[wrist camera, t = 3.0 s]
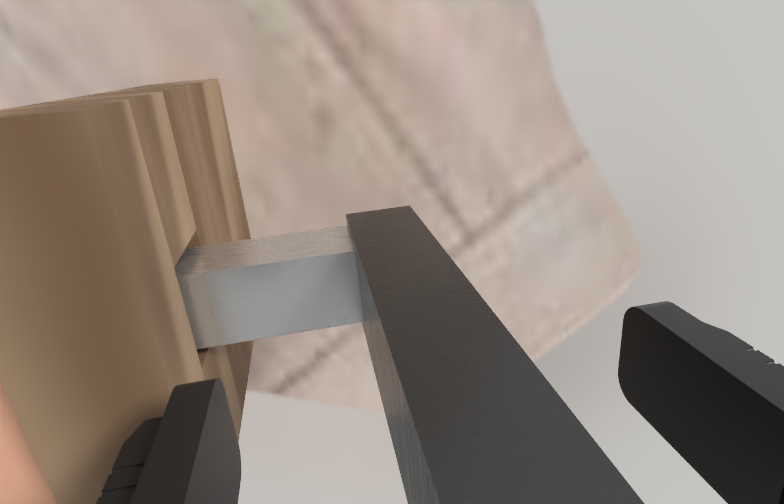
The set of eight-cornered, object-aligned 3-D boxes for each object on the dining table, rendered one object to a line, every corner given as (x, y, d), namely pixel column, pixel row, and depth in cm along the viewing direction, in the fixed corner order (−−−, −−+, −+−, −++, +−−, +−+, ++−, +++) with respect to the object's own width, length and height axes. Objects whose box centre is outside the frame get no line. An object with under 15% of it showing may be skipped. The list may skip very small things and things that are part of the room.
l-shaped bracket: (-26, 360, 15) (-1000, 1272, 4) (-69, 269, 14) (-1665, 1183, 3) (415, 290, 17) (658, 756, 5) (408, 205, 15) (698, 571, 4)
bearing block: (204, 297, 27) (94, 585, 12) (150, 84, 23) (-116, 129, 8) (261, 289, 27) (220, 557, 13) (217, 78, 23) (82, 110, 8)
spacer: (83, 354, 19) (-40, 524, 12) (9, 158, 16) (-208, 232, 9) (151, 343, 19) (69, 501, 12) (90, 149, 17) (-60, 214, 10)
